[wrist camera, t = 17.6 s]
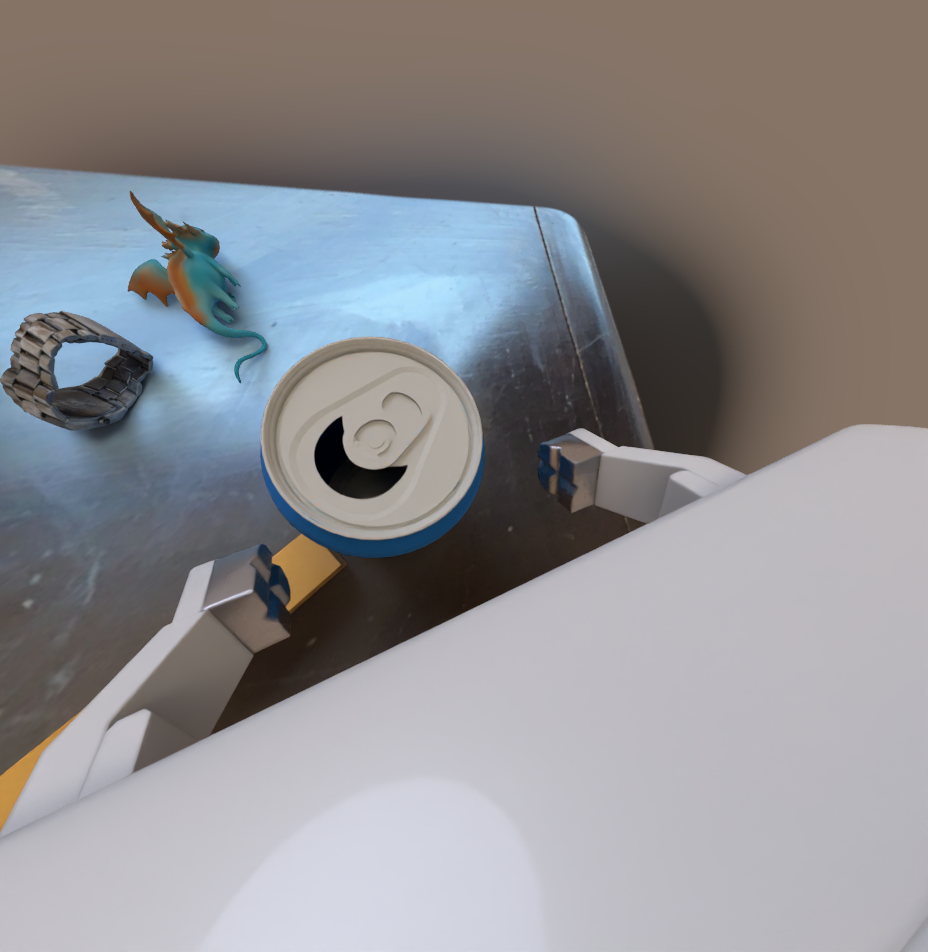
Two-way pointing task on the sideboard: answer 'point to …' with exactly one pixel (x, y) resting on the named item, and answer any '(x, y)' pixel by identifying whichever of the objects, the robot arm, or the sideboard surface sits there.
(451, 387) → the beverage can
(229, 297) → the dragon figurine
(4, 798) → the fry stick
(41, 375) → the wristwatch
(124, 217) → the sideboard surface
